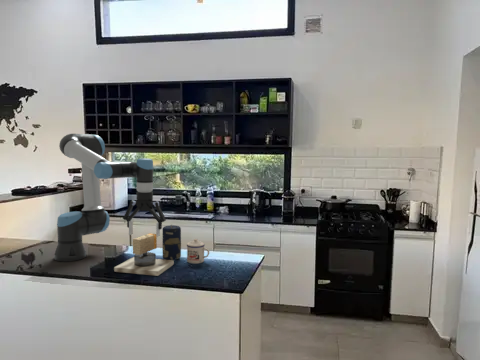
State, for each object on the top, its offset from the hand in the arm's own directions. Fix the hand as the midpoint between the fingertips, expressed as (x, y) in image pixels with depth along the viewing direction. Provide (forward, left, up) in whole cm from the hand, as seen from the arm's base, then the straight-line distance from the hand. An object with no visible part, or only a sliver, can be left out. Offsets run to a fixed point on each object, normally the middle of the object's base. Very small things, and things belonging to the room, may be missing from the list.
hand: (144, 235), depth 182 cm
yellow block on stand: (0, 0, -14) cm, 14 cm away
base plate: (0, 0, -16) cm, 16 cm away
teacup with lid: (+21, +17, -16) cm, 32 cm away
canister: (+6, +18, -16) cm, 25 cm away
